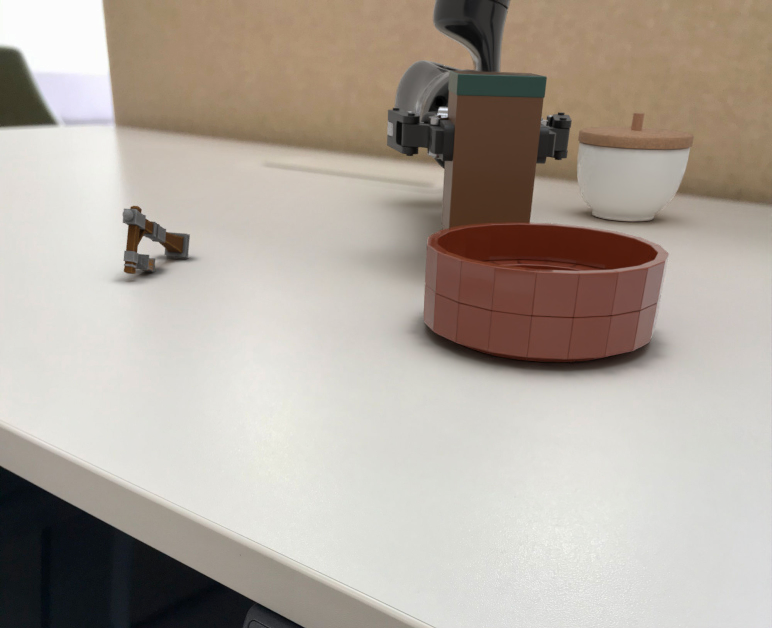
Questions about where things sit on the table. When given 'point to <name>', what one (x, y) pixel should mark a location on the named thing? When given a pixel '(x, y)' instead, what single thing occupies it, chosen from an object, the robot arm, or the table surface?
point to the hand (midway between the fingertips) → (496, 144)
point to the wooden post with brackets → (141, 227)
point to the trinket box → (630, 169)
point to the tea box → (492, 147)
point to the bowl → (543, 290)
